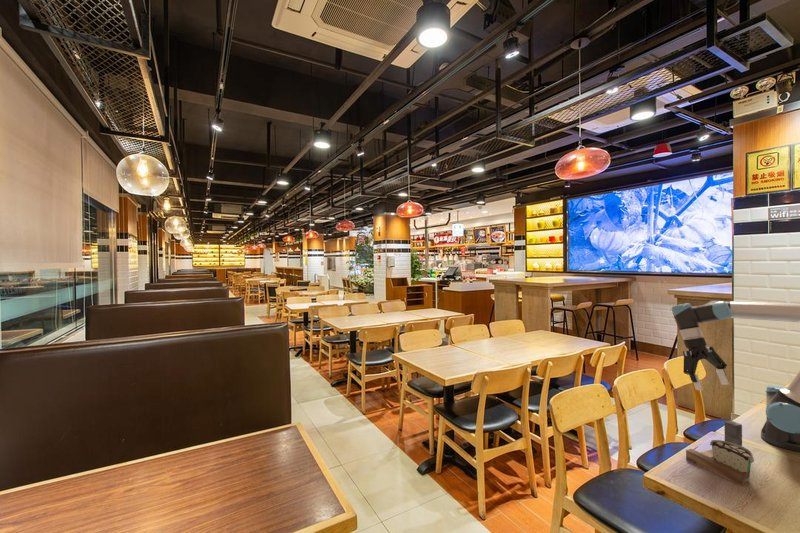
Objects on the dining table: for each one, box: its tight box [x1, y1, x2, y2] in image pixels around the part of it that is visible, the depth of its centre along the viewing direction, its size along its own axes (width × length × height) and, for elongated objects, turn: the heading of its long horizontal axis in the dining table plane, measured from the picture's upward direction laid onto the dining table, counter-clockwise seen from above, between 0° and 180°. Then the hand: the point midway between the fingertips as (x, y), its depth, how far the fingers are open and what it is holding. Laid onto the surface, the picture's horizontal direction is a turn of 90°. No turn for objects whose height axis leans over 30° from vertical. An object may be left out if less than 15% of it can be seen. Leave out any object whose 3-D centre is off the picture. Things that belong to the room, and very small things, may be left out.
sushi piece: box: [709, 439, 755, 484], centre depth 125 cm, size 12×6×10 cm, turn 17°
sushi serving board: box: [685, 420, 747, 486], centre depth 131 cm, size 26×17×11 cm, turn 107°
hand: (712, 387), depth 150 cm, fingers open, 13 cm apart
